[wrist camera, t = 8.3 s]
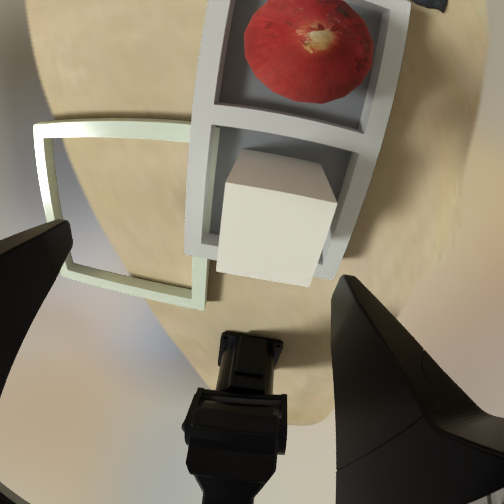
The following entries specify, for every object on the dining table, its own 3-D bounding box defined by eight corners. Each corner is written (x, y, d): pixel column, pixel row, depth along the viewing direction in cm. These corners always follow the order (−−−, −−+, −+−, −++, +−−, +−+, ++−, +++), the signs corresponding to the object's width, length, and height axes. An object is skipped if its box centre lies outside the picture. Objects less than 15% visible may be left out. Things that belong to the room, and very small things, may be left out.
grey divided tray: (329, 260, 22) (333, 280, 20) (192, 236, 22) (184, 254, 20) (395, 9, 11) (411, 2, 9) (225, -27, 11) (217, -40, 9)
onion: (301, -8, 11) (317, -62, 4) (370, 58, 13) (436, 56, 6) (231, 52, 13) (193, 37, 7) (302, 115, 15) (320, 149, 9)
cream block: (302, 230, 20) (308, 287, 15) (232, 217, 20) (216, 271, 15) (320, 163, 17) (337, 203, 12) (242, 148, 17) (225, 182, 12)
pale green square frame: (206, 301, 26) (204, 311, 25) (67, 269, 26) (62, 276, 25) (223, 124, 17) (220, 127, 16) (42, 121, 17) (33, 125, 16)
